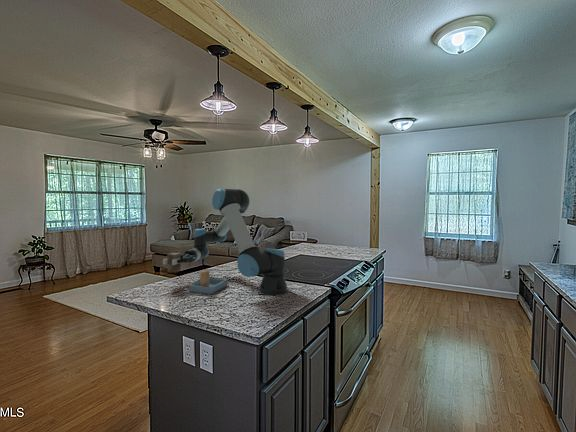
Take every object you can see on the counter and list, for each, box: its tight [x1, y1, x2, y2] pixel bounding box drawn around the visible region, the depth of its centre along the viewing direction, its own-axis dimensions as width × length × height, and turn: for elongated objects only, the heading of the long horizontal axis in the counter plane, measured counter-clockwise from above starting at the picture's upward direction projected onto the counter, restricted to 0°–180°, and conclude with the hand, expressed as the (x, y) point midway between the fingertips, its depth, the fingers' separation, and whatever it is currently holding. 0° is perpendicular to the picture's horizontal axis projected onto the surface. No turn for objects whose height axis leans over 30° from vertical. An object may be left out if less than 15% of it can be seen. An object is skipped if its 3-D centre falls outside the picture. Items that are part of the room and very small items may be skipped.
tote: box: [188, 277, 228, 295], centre depth 176 cm, size 14×18×4 cm
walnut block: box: [166, 252, 182, 274], centre depth 177 cm, size 5×5×10 cm
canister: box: [199, 269, 210, 287], centre depth 171 cm, size 5×5×10 cm
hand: (168, 262), depth 172 cm, fingers closed on walnut block, 5 cm apart
